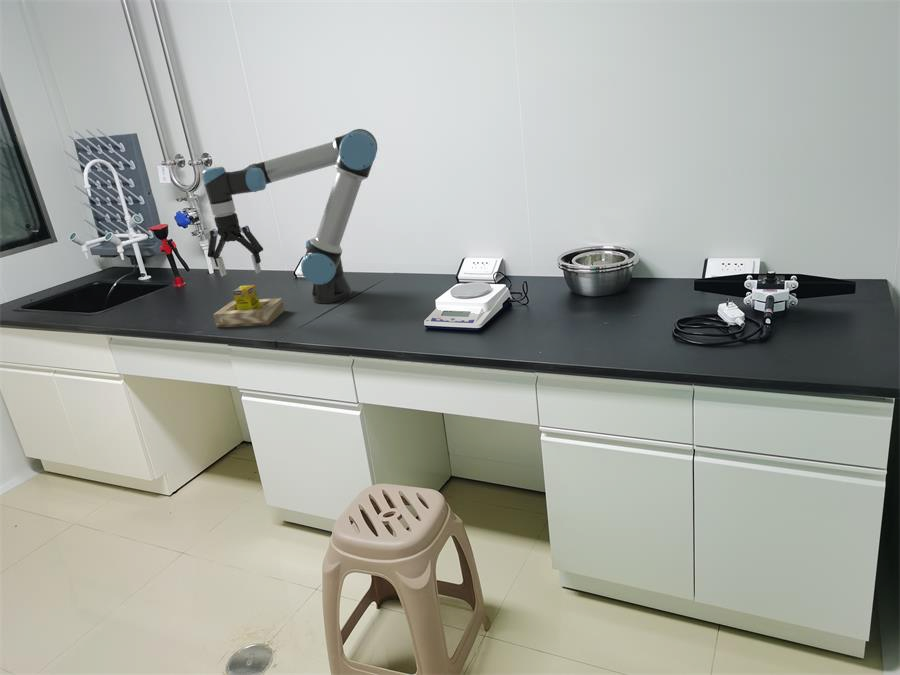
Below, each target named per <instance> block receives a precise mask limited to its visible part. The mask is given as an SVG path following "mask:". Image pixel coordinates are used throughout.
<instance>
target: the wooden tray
mask: <svg viewBox="0 0 900 675" xmlns="http://www.w3.org/2000/svg"><path fill="white" fill-rule="evenodd" d="M258 300H259V304H260V308H261V309H252V310H238V309H237V305H236V301H235V300H231V301H230V302H228V303H227V304H226V305H224V306H223V307H222V308H221V309H218V311H216V312H214V313H213V318H214V322H215V326H216V328H231V327H233V328H234V327H253V326H255V327H257V326H269V325H270V324H271V323H273V322H274V321H275V320H276V319H277V318H278V317H279V316H281V315H282V314H283V313H284V312H285V311H286V310H285V306H284V301H283V298H282V297H277V298H258Z"/></svg>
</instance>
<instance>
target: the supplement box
mask: <svg viewBox="0 0 900 675" xmlns="http://www.w3.org/2000/svg"><path fill="white" fill-rule="evenodd" d="M256 288H257V287H256V285H255V284H251V285H250V284H249V285H240V286H239V287H237V288H235V289H234V290H233V291H232V292H233V296H234V297H233V298H234V301H236V305H237V309H238V310H252V309H261V308H260V304H259V300H258V299H259V297H258V296H259V295H258V293H257V289H256Z"/></svg>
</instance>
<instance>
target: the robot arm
mask: <svg viewBox="0 0 900 675" xmlns="http://www.w3.org/2000/svg"><path fill="white" fill-rule="evenodd" d="M377 153H378V143H377V139H376V137H375V136H374V135H373V133H372V132H370V131H368V130H366V129H364V128H356V129H353V130H351V131H349V132H348V133H345V134H343V135H340V136H337V137H334V139H333V141H331V142H326V143H323V144H320V145H317V146H314V147H310V148H306V149H302V150H299V151H296V152H292V153H289V154H286V155H282V156H279V157H275V158H271V159H269V160H265V161H262V162H258V163H256V162H255V163H251V164H249V165H248V166H247V167H246V168H245V167H244V168H243V169H239V170H235V171H226V169H225V168H224V167H223V166H217V167H216V166H215V167H211V168H207V169H204V170H203V171H202V174H201V175H202V180H203V185H204V188H205V191H206V195H207V198H208V201H209V205H210V209H211V212H212V215H213V216H214V217H213V218H214V219H213V220H214V224H215V226H216V228H217V229H216V228H213V229H211V230H209V236H210V239H209V245H208V250H207V257H208V258H213V260H214V263H215V267H216V268H218V270H219V273H220V277H224V276H227V270H226V266H225V263H224V259H223V256H222V255H221V252H222V251H223V248H224V247H225V245H226V243H229V242H238V243H240V244H241V245H242V246H243V247H244V248H246V249H247V250H248V251H249V252H250V253H251V259H252V265H253V267H254V272H255V274H259V273H261V272H262V268H261V264H260V263H261V261H262V260H261V256H260V252H263V251H264V247H263V246H262V245H261V243H260V242H259V241H258V240H257V238H256V237H255V236H254V235H253V233H252V231H251V228H250V227H249V226H248V225H245V226H243V227H241V226H240V223H239V218H238V214H237V213H236V207H235V203H234V200H233V195H240V194H248V193H257V192H260V191H264V190H266V188H267V187H266V186H267V185H269V184H271V183H274V182H277V181H281V180H287V179H288V178H292V177H295V176H296V177H297V176H299V175H303V174H307V173H310V172H313V171H318V170H320V169H325V168H327V167H330V166H331V167H333V166H334V168H335V169H336V171H337V172H336V174H335V178H334V181H333V183H332V186H331V190H330V193H329V196H328V199H327V202H326V205H325V208H324V211H323V215H322V218H321V221H320V223H319V227H318V230H317V233H316V236H315V237H313V238H311V239H308V240H306V242H305V249H306V252H305V256H304V258H303V259H302V261H301V264H300V265H301V266H300V267H301V268H300V269H301V270H300V271H301V274H302V275H303V277H304V278H305V279H306V281H308V282H309V283H311V284H312V289H311V297H312V302H314V303H316V304H332V303H336V302H341V301H343V300H346V299H349V298H350V297H351V296H352V294H353V291H352V287H351V285H350V283H349V281H348V280H347V278H346V276H345V274H344V269H343V268H344V267H343V263H342V257H341V256H342V253H343V248H342V247H341V243H342V239H343V236H344V234H345V231H346V228H347V226H348V222H349V219H350V217H351V214H352V210H353V208H354V205H355V201H356V198H357V196H358V193H359V190H360V188H361V183H362V181H364V180H366V179H368V177H369V176H370V172H371V169H372V167H373V165H374V164H373V163H374V161H375V160H376V158H377V157H376V156H377ZM243 234H244V235H243ZM218 236H220V238H219V241H218V239H217V238H218ZM245 237H246V238H245ZM217 241H218V243H217ZM216 245H217V246H216ZM220 255H221V256H220Z"/></svg>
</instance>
